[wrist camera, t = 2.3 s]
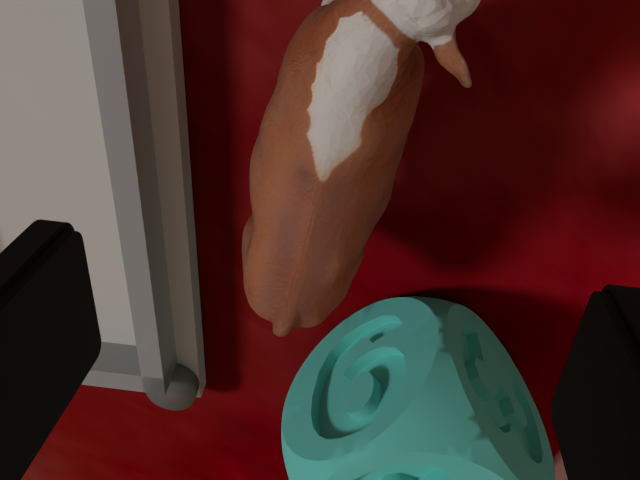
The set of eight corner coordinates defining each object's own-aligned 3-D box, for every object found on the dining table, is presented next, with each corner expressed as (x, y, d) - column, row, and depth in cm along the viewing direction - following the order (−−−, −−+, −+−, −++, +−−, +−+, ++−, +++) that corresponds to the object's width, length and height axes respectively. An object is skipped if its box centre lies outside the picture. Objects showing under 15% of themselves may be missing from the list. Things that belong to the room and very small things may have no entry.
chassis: (-206, -163, 19) (-292, -165, 16) (168, -138, 18) (134, -137, 16) (-21, 357, 31) (-55, 398, 29) (206, 385, 30) (190, 430, 28)
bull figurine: (503, -100, 18) (570, -69, 11) (339, 248, 25) (318, 396, 18) (366, -160, 17) (345, -170, 10) (240, 211, 24) (179, 349, 18)
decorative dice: (393, 439, 31) (392, 600, 24) (293, 343, 28) (261, 496, 21) (534, 379, 28) (578, 546, 21) (437, 263, 25) (452, 414, 18)
